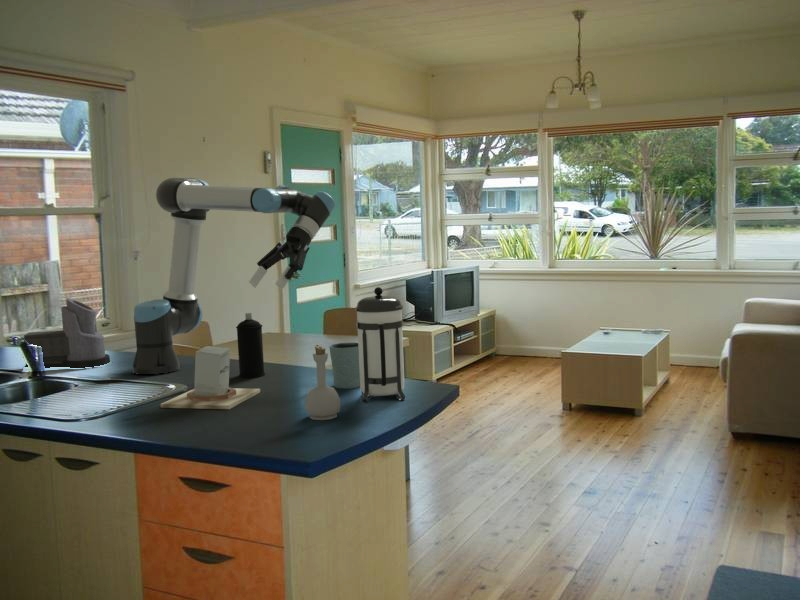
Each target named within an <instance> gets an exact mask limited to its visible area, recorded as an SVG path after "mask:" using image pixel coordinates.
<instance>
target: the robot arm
mask: <svg viewBox="0 0 800 600" xmlns="http://www.w3.org/2000/svg"><path fill="white" fill-rule="evenodd" d="M155 192H156V193H155V198H156V202H157V204H158V206H159V207H160V208H161V209H162V210H164V211H165V212H167V213H170V217H171V219H173V220H174V228H173V229H174V230H173V239H172V247H171V248H172V249H171V258H170V259H171V260H170V269H169V270H170V271H169V279H168V280H169V282H168V289H167V291H165V292H164V293H163V296H162V298H161V299H159V298H158V299H151V300H146V301H143V302H140V303H137V304H136V305H135V307H134V309H133V321H134V331H135V343H136V345H135V346H136V352H135V355H134V359H133V361H132V362H133V364H132V373H133V372H134V373H138V374H155V375H160V374H159V373H164V374H169V373H168V372H170V373H174V372H176V371H179V370H180V367H181V366H180V361H179V359H178V356H177V353H176V351H175V349H174V344H173V336H176V335H181V334H187V333H190V332H191V331H193V330H196V328H197V327H199V325H200V324H201V322H202V320H203V308H202V307H201V306H200V302H198V298H199V297H198V295H197V294H196V293H195V283H196V277H197V276H196V275H197V274H196V273H197V265H198V257H199V256H198V254H199V246H200V245H199V244H200V236H201V226H202V224H204V222H206V220H207V213H208V212H210V210H212V211H213V210H216V211H232V212H233V211H235V212H250V213H251V212H254V213H256V212H257V213H262V214H274V213H275V214H276V213H280V214H281V213H289V214H292V215H296V216H298V217H297V219H296V220H295V222H294V223H293V224H292V227H291V228H290V229H289V230H288V232H287V233H286V235H285V239H286V240H285V242H284V243H283V244H282V243H281V242H277V244H276V245H275V246H274V247H273V248H272V249H271V250H270V251H269V252H267V253H266V254H265V255H264V256H263V257H262V258H261V259H260V260H258V261H257V262H256V264H257V266H258V269H257V270H256V271H255V272H254V274H253V275H252V277H251V278H250V280H249V281H248V283H249V284H250V285H251V286H252V287H253V288H256V287H257V286H258V285H259V284H260V282H261V281H262V280H263V279H264V277H265V276H266V274H267V272H268V269H270V268H271V267H273V266H274V265H276V264H278V262H280V261H281V260H285V259H288V258H289V264H288V265H287V266H286V268H285V269H284V270H283V272H282V273H281V275H280V276H279V278H278V279H277V281H276V282H275V283H274V284H275V285H276V286H277V287H278V288H279V289H280V290H283V289H284V288H285V287H286V285H287V284H288V282H289V281H290V279H291V278H292V277H293V276H294V273H297V272H298V271H300V272H301V271H302V270H303V268H304V266H305V265H304V264H305V260H306V257H307V254H308V252H309V250H310V247H309V246H310V244H311V243H312V241H313V240H314V238H315V237H316V235H317V233H318V232H319V231H320V230H321V228H322V226H323V225H324V224H325V222H327V220H328V218H329V217H330V216H331V214H332V212H333V210H334V209H335V207H336V202H335V199H334V198H333V197H332V196H331V195H330V194H329V193H327V192H325V191H317V192H315V194H313V195H311V194H308V193H304V192H302V191H299V190H297V189H296V188H293V187H291V186H286V185H284V184H280V185H278V186H276V187H272V188H271V187H251V186H250V187H249V186H229V185H228V186H227V185H226V186H225V185H223V186H222V185H209V183H208V182H206V181H205V180H203V179H199V178H192V177H169V178H167V179H164V180H163V181H161V183H160V184H158V186H157V189H156V191H155ZM173 371H174V372H173ZM134 373H133V374H134Z"/></svg>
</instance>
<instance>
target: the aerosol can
mask: <svg viewBox="0 0 800 600" xmlns="http://www.w3.org/2000/svg"><path fill="white" fill-rule="evenodd" d="M244 314H245V319H244V320H243V321H241V322H239V323H238V324H237V326H236V327H235V328H236V333H237V337H236V338H237V348H238V349H237V351H238V352H237V353H238V368H239V374H238V376H239V377H240V378H243V379H253V378H260V377H264V376H265V375H266V373H265V362H264V345H263V342H264V341H263V329H262V327H263V325H262V324H261V323H260V322H259V321H258V320H255V319H253V315H252V312H246V313H244Z"/></svg>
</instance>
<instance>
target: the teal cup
mask: <svg viewBox="0 0 800 600" xmlns="http://www.w3.org/2000/svg"><path fill="white" fill-rule="evenodd" d="M329 354H330V355H329V356H330V359H331V367H332V368H331V369H332V374H333V375H332V376H333V386H334V388H338V389H347V390H348V389H356V388H360V370H359V348H358V342H340V343H333V344H330V345H329Z"/></svg>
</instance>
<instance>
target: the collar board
mask: <svg viewBox="0 0 800 600" xmlns="http://www.w3.org/2000/svg"><path fill="white" fill-rule="evenodd" d="M260 393H261V388H244V387H243V388H241V387H240V388H238V387H237V388H232V387H230V386H229V389H228V392H226V393H225V394H221V395H214V396H196V395H194V388H193V389H190V390H188V391H187V392H184V393H182V394H179V395H178V396H175V397H173V398H171V399H169V400H166V401H164V402H162V403H160V409H162V408H163V409H164V408H165V409H167V408H168V409H169V408H170V409H203V410H205V409H207V410H230V409H232V408H234V407H236V406H238V405H239V404H241V403H243V402H245V401H246V400H249V399H251V398H252V397H254V396H256V395H257V394H260Z"/></svg>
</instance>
